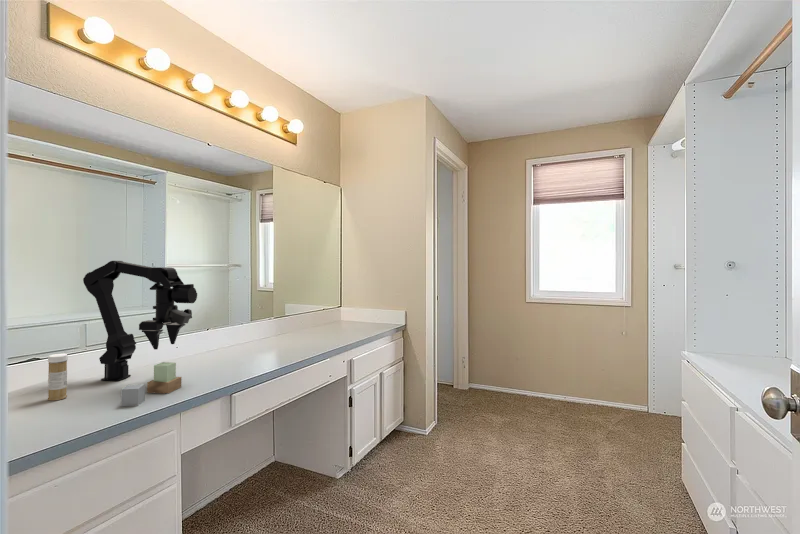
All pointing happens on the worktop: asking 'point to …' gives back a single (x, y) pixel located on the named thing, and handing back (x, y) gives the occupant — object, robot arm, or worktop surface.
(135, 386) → the slate block
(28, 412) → the worktop surface
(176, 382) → the base block
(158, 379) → the sage block
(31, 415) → the worktop surface
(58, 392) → the sprinkles bottle
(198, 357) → the worktop surface
